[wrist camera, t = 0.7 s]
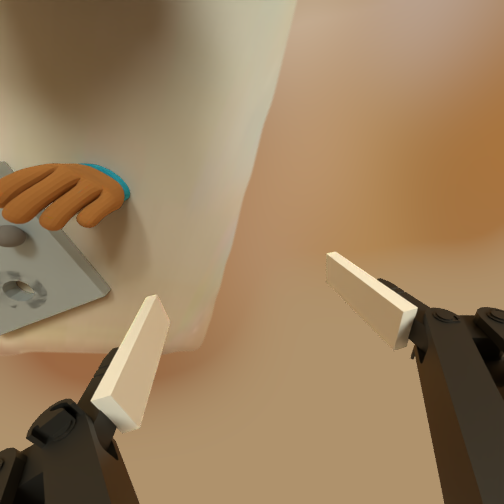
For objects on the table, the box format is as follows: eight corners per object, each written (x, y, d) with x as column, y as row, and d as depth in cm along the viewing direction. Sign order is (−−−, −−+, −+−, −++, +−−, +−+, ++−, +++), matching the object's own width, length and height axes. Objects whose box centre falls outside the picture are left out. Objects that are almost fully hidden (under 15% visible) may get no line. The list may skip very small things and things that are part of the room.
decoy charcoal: (-1, 227, 30) (-26, 233, 27) (20, 219, 30) (-3, 225, 27) (18, 245, 31) (-4, 254, 28) (38, 238, 31) (18, 245, 28)
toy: (49, 181, 31) (-82, 188, 17) (63, 142, 29) (-69, 117, 16) (125, 220, 35) (68, 250, 22) (141, 188, 34) (90, 200, 20)
